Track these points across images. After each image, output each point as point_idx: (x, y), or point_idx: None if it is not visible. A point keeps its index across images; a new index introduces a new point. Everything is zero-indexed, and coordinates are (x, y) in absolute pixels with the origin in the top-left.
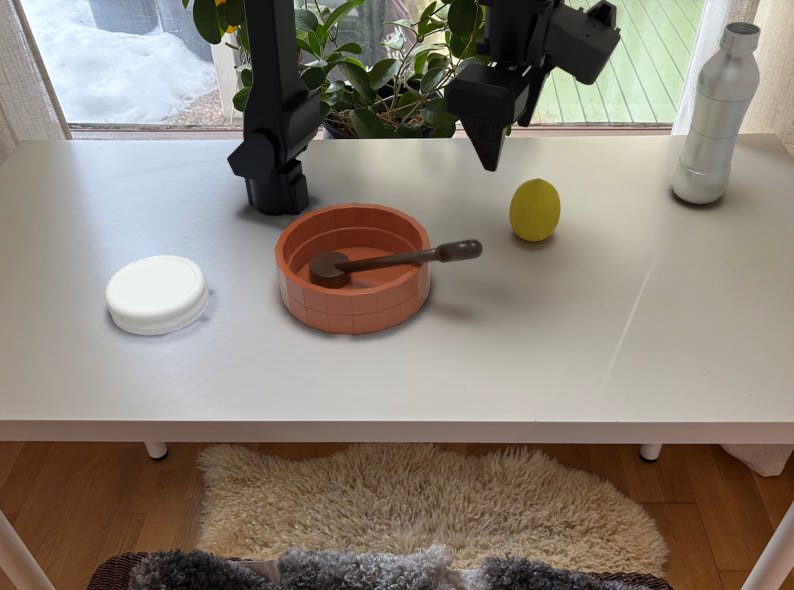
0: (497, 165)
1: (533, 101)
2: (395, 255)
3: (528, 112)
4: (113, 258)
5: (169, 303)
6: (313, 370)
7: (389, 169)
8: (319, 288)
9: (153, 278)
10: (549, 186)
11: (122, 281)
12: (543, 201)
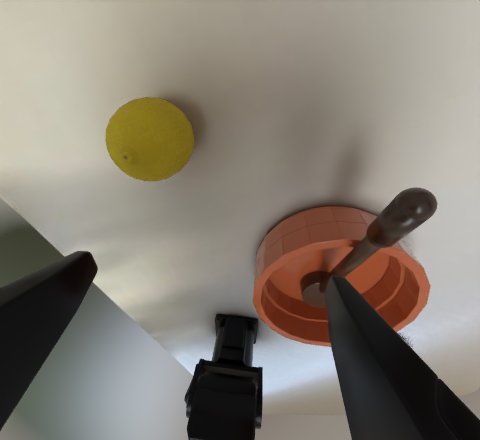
0: (344, 286)
1: (13, 310)
2: (351, 270)
3: (57, 285)
4: (323, 373)
5: None
6: (443, 258)
7: (144, 283)
8: (417, 309)
9: None
10: (123, 133)
11: None
12: (159, 131)
